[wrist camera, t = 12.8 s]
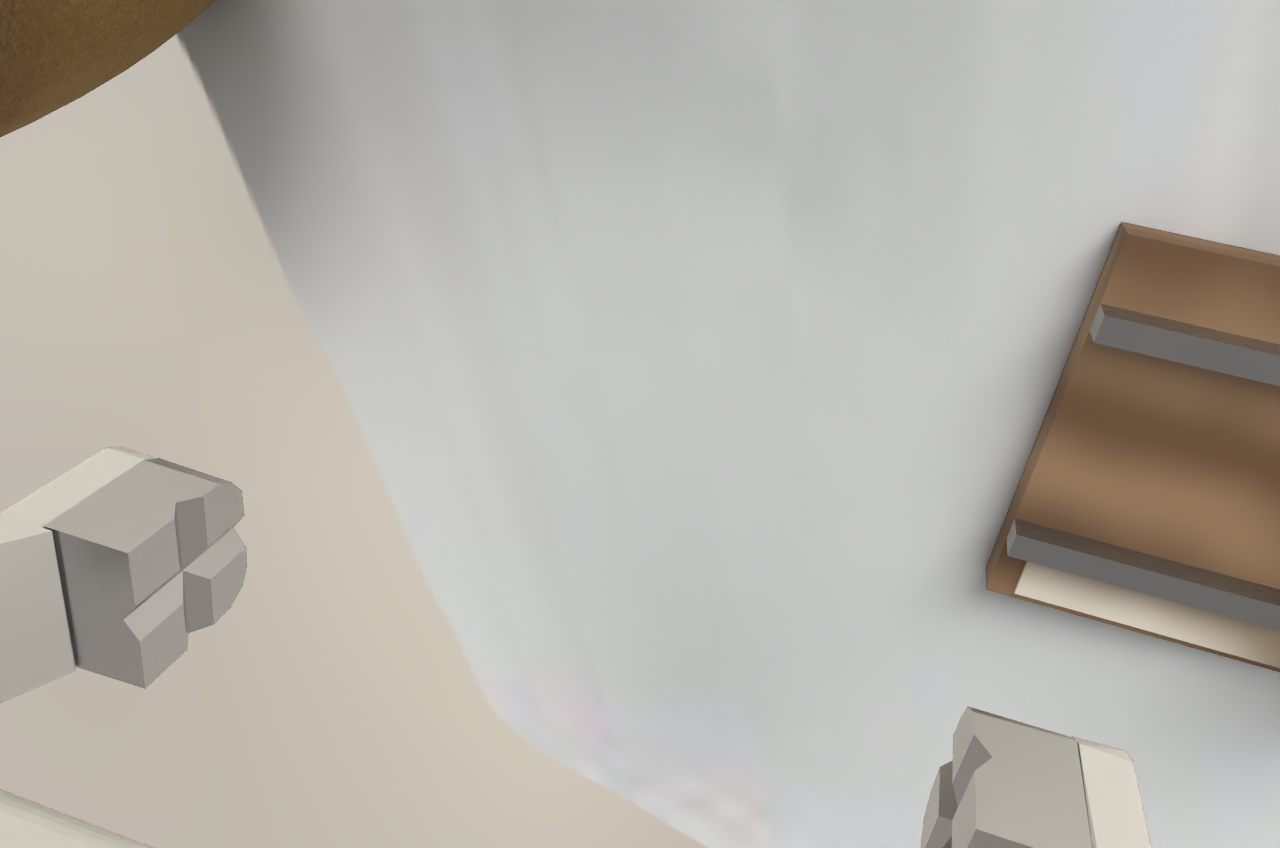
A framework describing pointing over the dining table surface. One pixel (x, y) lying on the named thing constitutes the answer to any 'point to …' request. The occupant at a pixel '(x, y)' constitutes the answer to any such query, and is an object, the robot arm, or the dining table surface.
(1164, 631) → the gauge bench
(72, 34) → the plant pot
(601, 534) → the dining table surface
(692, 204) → the dining table surface
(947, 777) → the robot arm
